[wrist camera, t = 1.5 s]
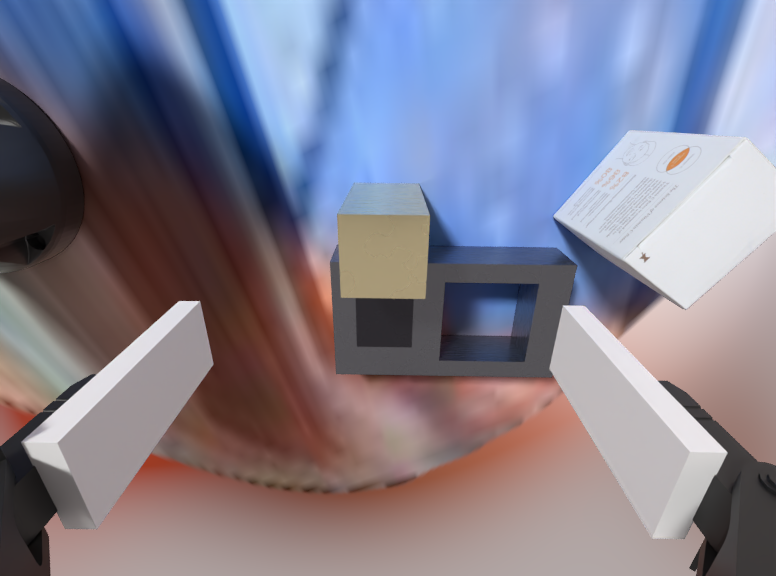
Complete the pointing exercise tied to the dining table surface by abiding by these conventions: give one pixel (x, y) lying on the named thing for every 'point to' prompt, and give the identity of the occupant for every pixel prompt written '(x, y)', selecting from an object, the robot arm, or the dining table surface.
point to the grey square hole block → (424, 316)
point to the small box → (676, 209)
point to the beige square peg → (383, 241)
